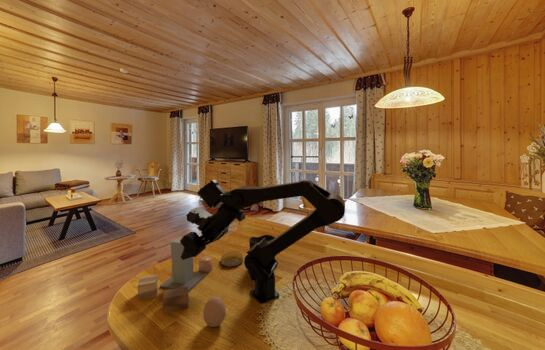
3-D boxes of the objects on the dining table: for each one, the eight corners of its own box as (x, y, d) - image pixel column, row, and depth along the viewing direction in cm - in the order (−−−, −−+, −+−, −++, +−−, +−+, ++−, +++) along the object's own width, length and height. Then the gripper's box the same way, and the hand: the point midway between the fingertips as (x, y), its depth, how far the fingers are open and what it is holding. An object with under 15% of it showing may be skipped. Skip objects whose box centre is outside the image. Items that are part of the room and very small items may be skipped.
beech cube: (156, 297, 67) (155, 282, 66) (138, 300, 65) (137, 285, 65) (158, 288, 71) (157, 274, 71) (141, 291, 69) (140, 277, 69)
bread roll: (241, 255, 94) (241, 245, 93) (244, 265, 85) (243, 255, 85) (220, 257, 92) (220, 247, 92) (220, 268, 83) (220, 257, 83)
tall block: (193, 276, 76) (192, 238, 75) (185, 284, 72) (183, 243, 71) (181, 274, 77) (180, 236, 76) (172, 281, 73) (170, 241, 72)
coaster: (206, 275, 78) (206, 273, 78) (188, 292, 69) (188, 290, 69) (180, 271, 81) (180, 269, 81) (159, 287, 71) (159, 285, 71)
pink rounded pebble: (213, 270, 81) (213, 259, 81) (201, 274, 79) (200, 263, 78) (209, 265, 85) (209, 255, 84) (197, 269, 82) (196, 258, 82)
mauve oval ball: (205, 336, 52) (204, 307, 52) (202, 321, 57) (201, 294, 56) (228, 328, 54) (227, 301, 54) (223, 314, 59) (222, 289, 58)
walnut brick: (188, 299, 66) (188, 286, 65) (188, 308, 62) (187, 294, 61) (165, 304, 64) (164, 290, 63) (163, 313, 60) (162, 298, 60)
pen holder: (255, 258, 90) (255, 233, 90) (278, 261, 88) (278, 235, 87) (245, 269, 82) (245, 242, 81) (271, 274, 79) (270, 245, 78)
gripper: (218, 194, 79) (191, 224, 83) (184, 206, 61) (152, 244, 65) (241, 218, 78) (212, 247, 82) (212, 238, 60) (178, 274, 64)
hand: (191, 252), depth 73 cm, fingers open, 9 cm apart
